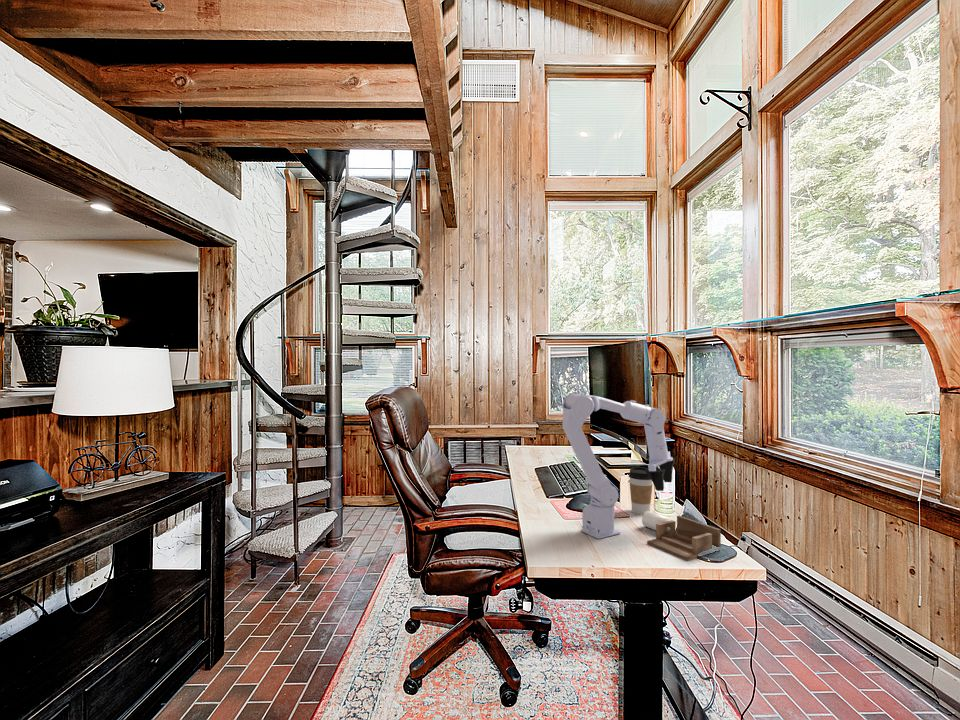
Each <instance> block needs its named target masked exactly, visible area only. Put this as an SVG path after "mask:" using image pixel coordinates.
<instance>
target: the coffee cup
mask: <svg viewBox="0 0 960 720" xmlns="http://www.w3.org/2000/svg"><path fill="white" fill-rule="evenodd" d="M647 468H648V467H644V466H643V467H641V466H633V467H631V468H630V469H629V473H628V477H629V490H630V491H629V492H630V503H631V511H632V513H633V514H636V515H642V516H643V514H644V513H645V512H646V511H650V512H651V503H652V502H651V501H652V494H653V486H654V484H653V482H652V480H651V478H650V477H649V475H648V474H647V473H646V469H647Z"/></svg>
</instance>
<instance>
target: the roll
mask: <svg viewBox="0 0 960 720" xmlns="http://www.w3.org/2000/svg"><path fill="white" fill-rule="evenodd" d="M671 520H673V519H672V518H670V517H667V516H665V515H662V514H658V513H656V512H653V511H651V510H650V511H646V512H645V513H644V514H643V515H642V517H641V523H642V525H643V526H644V527H646V528H649V529H651V530H654V531H656V524H658V523H662V522H666V521H671Z"/></svg>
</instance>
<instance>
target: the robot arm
mask: <svg viewBox="0 0 960 720" xmlns="http://www.w3.org/2000/svg"><path fill="white" fill-rule="evenodd" d="M561 409H562V429H563V431H564V434H565V436H566V438H567V439H568V441H569V444H570V446H571V448H572V450H573V452H574V454H575V456H576V459H577V460H578V462H579V464H580V467H581V469H582V471H583V473H584V475H585V479H584V481H585V483H586V487H587V488H586V490H587V491H586V492H587V493H588V495H589V496H590V503H589V504H588V505H586V506H584V508H583V509H582V518H581V519H582V523H581V524H582V527H581V528H580V531H581V532H582V533H585V534H587V535H589V536H591V537H593V538H595V539H597V540H598V539H603V538H607V537H612V536H616V535H620V534H621V531H620V530H618V529H615V504H616V503H617V502H618V500H619V491H618V489H617V488H616V487H615V486H613V484H612V483H611V481H610V480H609V478H608V477H607V476H606V475H605V474H604V472H603V470H602V468H601V466H600V465H599V464H600V463H599V462H598V460H597V458H596V456H595V454H594V452H593V449H592V447H591V445H590V443H589V440H588V439H587V437H586V435H585V433H584V430H583V429H582V428H583V425H584V423H585V422H586V421H587V419H588V418H589V417H590V416H591V414H592V413H593V412H597V411H599V410H600V409H601V410H606V411H609V412H614V413H617V414H620V416H621V417H622V419H624V420H628V421H631V422H636V423H640V424H642V425H643V426H644V432H645V438H646V444H647V450H648V457H649V459H648V461H649V462H648V464H647V467H646V468H647V469H646V473H647V474H648V475H649V477H650V478H651V480H652V484H653V486H654V488H655V490H656V491H658V492H659V491H660V492H663V491H664V490H665V485H664V483H672V481H673V470H674V465H675V462H676V460H675V458H673V456H671V451H668V445H667V440H666V434H665V423H666V420H667V415H665V414H664V412H663V411H662V409H660V408H657V407H651V406H650V404H641V403H637V400H633V399H630V400H626V401H624V402H623V403H621V402H618V401H615V400H612V399H609V398H605V397H602V396H597V395H589V394H582V393H581V394H579V393H575V392H572V393H569V394H567V395H566V396H565V398H564V400H563V402H562V404H561Z"/></svg>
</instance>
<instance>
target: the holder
mask: <svg viewBox="0 0 960 720" xmlns="http://www.w3.org/2000/svg"><path fill="white" fill-rule="evenodd" d="M721 534H722V532H721V528H717V527H716V526H712V525H708V524H706V523H703V522H700V521H698V520H693V519H691V518H688V517H684V516H682V515H677V516H676V520H673V519H672V520H671V521H666V522H662V523H658V524H656V530H655V538H653V539H650V540H649V539H648V540H647V541H646V542H647V545H650V546H653V547H655V548H657V549H659V550H662V551H664V552H666V553H669V554H671V555H674V556H675V557H677V558H678V557H679V558H680V559H682V560H685V561H692V560H695V559H696V560H697V559H698V558H697V556H698V554H699V553H701V552H703V551H706V550H709V549H712V545H714V546H716V547H722V545H721V542H722V541H721V538H722V537H721Z"/></svg>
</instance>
